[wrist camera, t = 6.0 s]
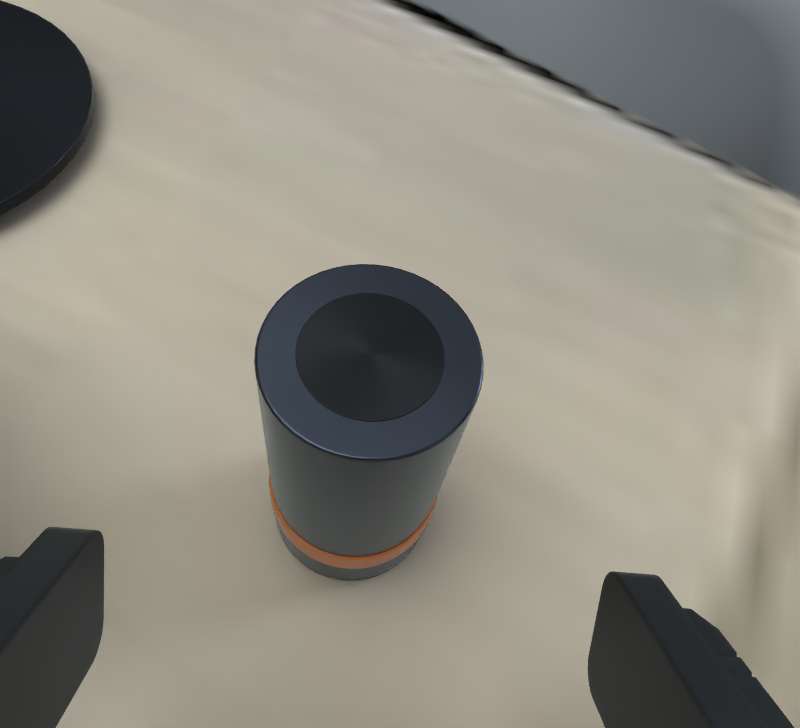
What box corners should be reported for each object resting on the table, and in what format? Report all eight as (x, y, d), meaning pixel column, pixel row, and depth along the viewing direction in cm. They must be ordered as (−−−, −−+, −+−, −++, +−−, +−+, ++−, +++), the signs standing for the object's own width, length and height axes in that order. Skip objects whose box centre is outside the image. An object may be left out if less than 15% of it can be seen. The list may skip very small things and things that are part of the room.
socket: (341, 408, 24) (355, 225, 16) (456, 496, 23) (531, 345, 15) (240, 514, 22) (199, 362, 14) (361, 616, 20) (390, 514, 13)
